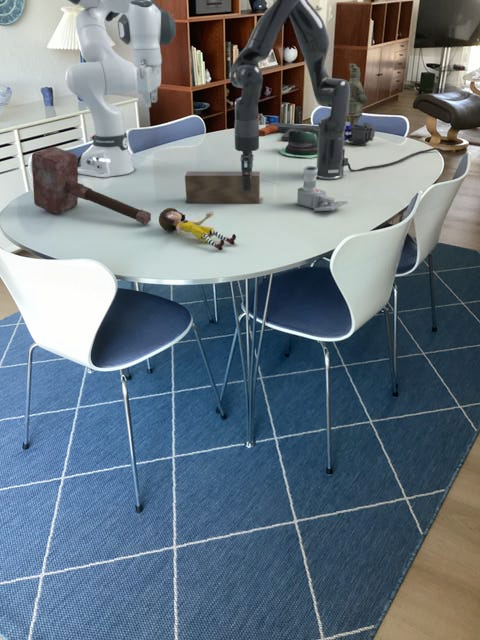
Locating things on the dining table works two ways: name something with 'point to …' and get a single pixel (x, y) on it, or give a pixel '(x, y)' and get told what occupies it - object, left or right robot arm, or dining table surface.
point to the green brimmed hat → (302, 143)
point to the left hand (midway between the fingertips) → (151, 104)
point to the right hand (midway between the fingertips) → (247, 187)
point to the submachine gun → (283, 129)
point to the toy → (359, 133)
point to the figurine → (191, 227)
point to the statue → (355, 96)
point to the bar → (221, 187)
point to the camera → (315, 193)
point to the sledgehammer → (69, 186)
